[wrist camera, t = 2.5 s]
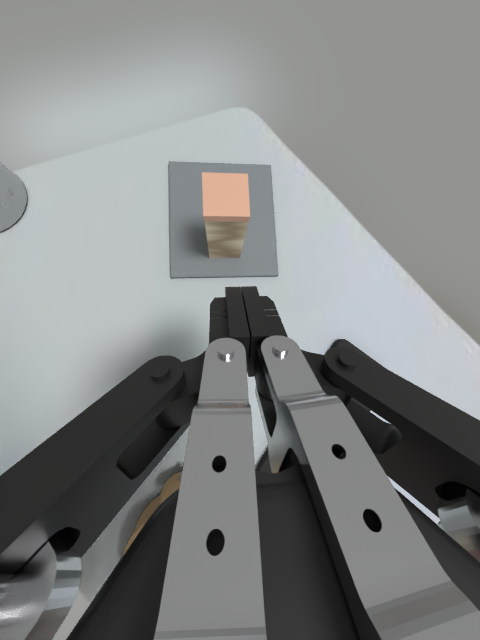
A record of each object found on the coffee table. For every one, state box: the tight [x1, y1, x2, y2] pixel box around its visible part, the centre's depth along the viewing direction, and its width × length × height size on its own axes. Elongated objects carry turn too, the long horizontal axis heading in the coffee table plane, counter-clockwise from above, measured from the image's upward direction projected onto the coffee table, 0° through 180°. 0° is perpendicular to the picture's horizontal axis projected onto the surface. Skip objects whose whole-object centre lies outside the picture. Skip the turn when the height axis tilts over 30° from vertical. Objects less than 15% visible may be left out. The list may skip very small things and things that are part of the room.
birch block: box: [202, 172, 250, 258], centre depth 23 cm, size 4×4×9 cm
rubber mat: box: [169, 161, 278, 278], centre depth 28 cm, size 14×16×1 cm
